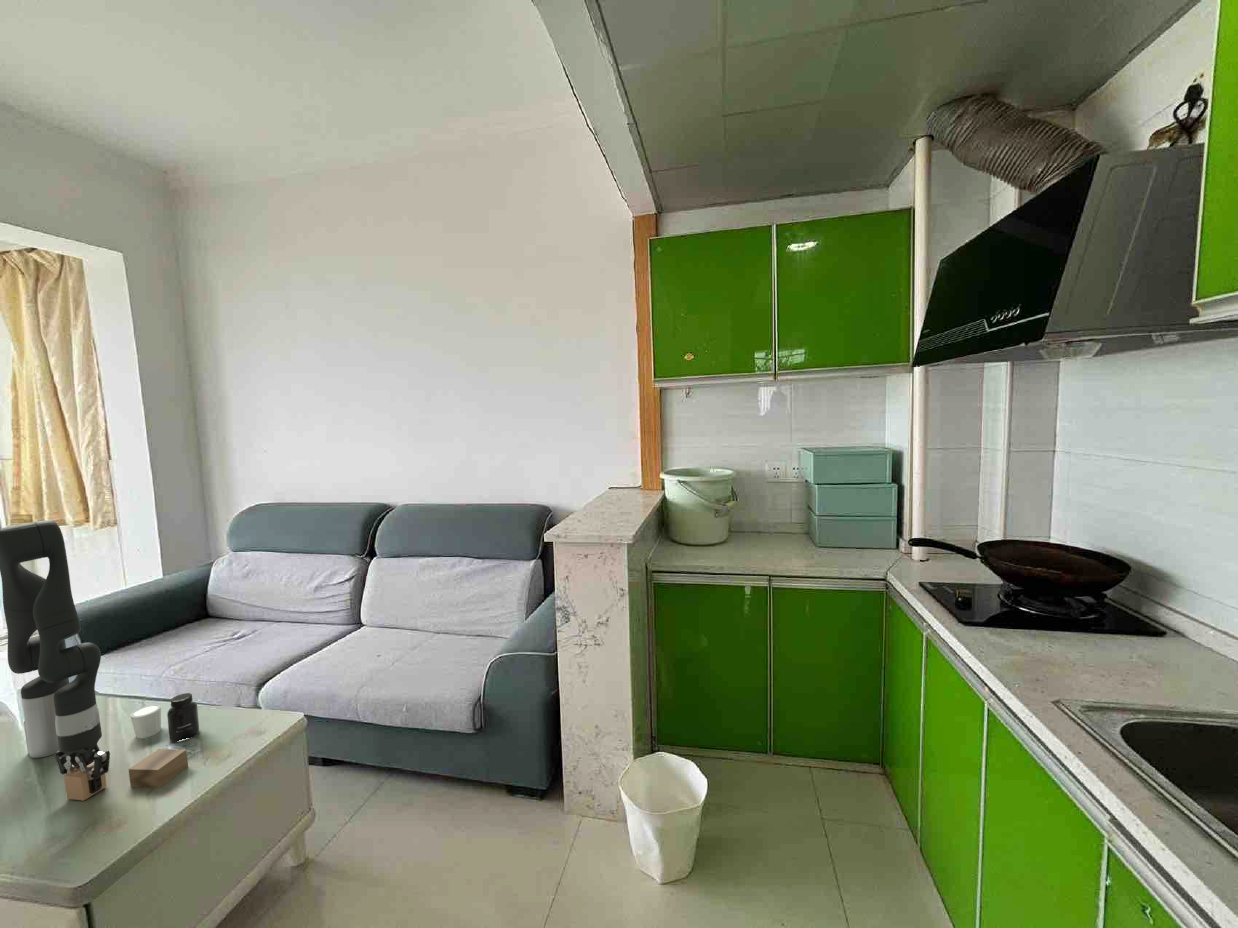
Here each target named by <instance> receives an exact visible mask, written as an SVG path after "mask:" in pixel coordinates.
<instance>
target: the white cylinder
mask: <svg viewBox="0 0 1238 928" xmlns="http://www.w3.org/2000/svg"><path fill="white" fill-rule="evenodd" d="M129 716H130V719H131V724H132V727H133V730H134V734H135V738H136V737H137V738H136V739H145V738H149V737H152V736H154V735H155V734H157V733H159V732H160V731H161V730H162V705H160V704H151V705H145V706H142V707H140V708H138V709H136V710H134V711H133V712H131V713H130V715H129Z"/></svg>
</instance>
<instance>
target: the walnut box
mask: <svg viewBox="0 0 1238 928" xmlns="http://www.w3.org/2000/svg"><path fill="white" fill-rule="evenodd" d="M187 753H188V751H187V749H174V748H173V749H172V748H171V749H170V748H169V749H168V748H167V749H166V748H164V749H163V748H161V749H160V748H159V749H157V750H155V751H153V752H152V753H151V754H149V755H147V756H146V757H145V758H143V759H142V760H140V761H139V762H137V763H135V764H134V765H133V766H131V767H130V768H128V776H129V784H130V788H155V789H157V788H162V787H163V786H165V785H166V784H167V783H169V782H170V781H171V780H173V779H174V778H175V777H177V776H178V775H179V774H180V773H182V772H183V771H185V770H186V769H187V768H188V767H189V762H188V754H187Z"/></svg>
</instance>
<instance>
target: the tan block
mask: <svg viewBox="0 0 1238 928" xmlns="http://www.w3.org/2000/svg"><path fill="white" fill-rule="evenodd" d="M93 764H94V762H93V763H91V764H89V765H87V767H89V766H91V765H93ZM102 769H103V768H102ZM91 771H92V774H93V773H94V768H93V769H92V770H91ZM106 777H107V776H106V773H105V774H103V775H101V781H102V788H101V789H100V790H98V791H97V792H95V793H93V794H92V793H90V791H89V783H88V780H89V779H88V777H87V774H86V773H83V772H82V770H81V768H80V767H79V768H77V769H75V770H74V771H73V772H70V773H68V774H64V775H63V778H64V779H63V780H64V785H65V794H66V799H68V800H76V801H83V802H84V801H85V800H88V799H89V798H90V797H92V796H93V795H95V794H97V793H98V792H100V791H101V790H104V789H105V788H106V787H107V780H106V779H107V778H106Z"/></svg>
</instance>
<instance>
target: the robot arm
mask: <svg viewBox="0 0 1238 928" xmlns="http://www.w3.org/2000/svg"><path fill="white" fill-rule="evenodd" d="M43 558H48V563H49V566H48V567H49V568H48V574H47V577H46V578H45V577H43V576H41V575H39V574H37V573H35V572H32V571H30V570H29V569H26V567H24V566H23V565H22V563H25V562H29V561H35V560H41V559H43ZM70 577H71V576H70V569H69V562H68V557H67V550H66V544H65V539H64V536H63V532H62V530H61V528H60V526H59V524H58V523H57V522H56V521H55V520H52V519H47V520H46V519H45V520H39V521H34V522H33V521H32V522H25V523H21V524H15V525H10V526H5V527H1V528H0V578H1V589H2V603H3V604H2V606H3V614H4V617H5V623H6V628H7V629H6V630H7V663H8V667H9V669H10V671H11V672H13V673H14V674H17V675H21V674H26V673H31V672H34V671H37V672H38V675H39V676H37V677H36V678H33V679H31V680H30V681H28V682H26V683H25V684H24V685H23V686H21V688H20V697H21V701H22V708H23V710H22V711H23V715H24V716H23V717H24V721H23V726H24V727H23V728H24V734H25V742H26V743H25V744H26V748H27V754H29V757H30V758H32V759H41V758H45V757H49V756H52V755H54V758H55V760H56V763H57V766H58V770H59V772H60V774H61V775H63V776H64V775H66V774H68V773H70V772H73V771H74V770H75V769H77V768H79V767H80V768H81V770H82V772H83V773H86V774H87V777H88V779H89V780H88V783H89V791H90V793H92V794H93V793H95V792H97V791H98V790H100V789H101V788H102V781H101V775H103V774H105V775H106V773H108V772H109V767H110V758H111V757H110V755H111V753H110V751H109V750H105V751H104V752H103V751H101V750H100V747H99V745H98V742H99V741H100V739H101V738H102V736H103V734H102V726H101V717H100V710H99V707H98V704H97V697H96V690H95V689H96V686H95V684H96V680H97V674H98V672H99V667H100V665H101V659H102V654H101V653H102V651H101V650H100V648H99V646H98V645H97V644H95V643H93V642H87V641H85V642H83V643H80V644H75V645H73V646H69V647H67V644H66V643H67V642H66V639H67V640H68V639H69V638H71V637H73V636H76V635H77V634H79V633H80V632H81V630H82V625H81V621H80V619H79V618H80V617H79V614H78V612H77V609H76V605H75V602H74V599H73V594H72V587H71V578H70ZM35 632H38V635H37V636H33V634H35ZM32 636H33V637H32ZM75 676H76V677H75ZM72 677H75V678H74V679H73V680H72V681H70V678H72ZM91 763H94V764H93V765H91V766H89V767H87V765H89V764H91ZM93 768H94V773H93V774H92V771H91V770H92V769H93ZM102 768H103V769H102ZM101 790H102V789H101ZM101 790H100V791H101ZM98 792H99V791H98ZM98 792H97V793H98ZM95 794H96V793H95ZM93 795H94V794H93Z"/></svg>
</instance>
